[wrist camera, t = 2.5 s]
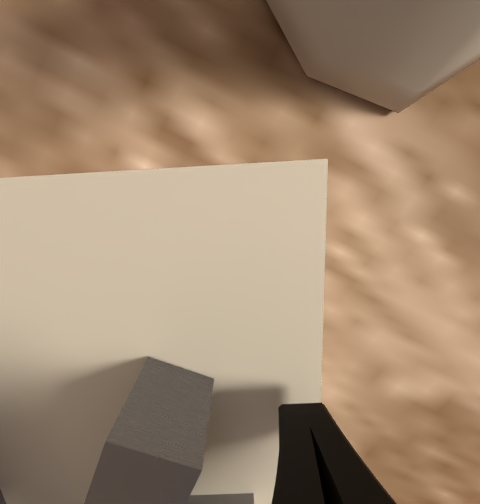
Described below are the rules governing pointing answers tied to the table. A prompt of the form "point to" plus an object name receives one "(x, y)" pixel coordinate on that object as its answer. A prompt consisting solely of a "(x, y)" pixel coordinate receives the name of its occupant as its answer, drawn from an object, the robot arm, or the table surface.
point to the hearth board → (157, 314)
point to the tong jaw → (155, 439)
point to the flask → (382, 44)
